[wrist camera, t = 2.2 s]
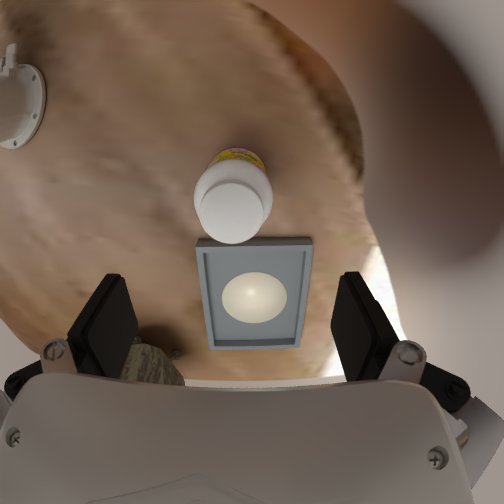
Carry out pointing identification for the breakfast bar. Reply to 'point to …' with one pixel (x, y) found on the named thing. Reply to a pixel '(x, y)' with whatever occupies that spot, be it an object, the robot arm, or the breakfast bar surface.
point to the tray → (254, 291)
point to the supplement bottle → (233, 196)
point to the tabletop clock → (151, 365)
